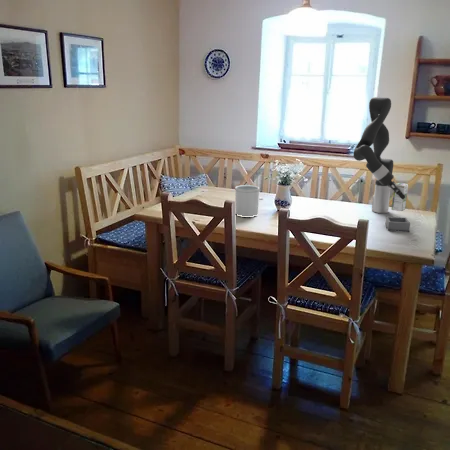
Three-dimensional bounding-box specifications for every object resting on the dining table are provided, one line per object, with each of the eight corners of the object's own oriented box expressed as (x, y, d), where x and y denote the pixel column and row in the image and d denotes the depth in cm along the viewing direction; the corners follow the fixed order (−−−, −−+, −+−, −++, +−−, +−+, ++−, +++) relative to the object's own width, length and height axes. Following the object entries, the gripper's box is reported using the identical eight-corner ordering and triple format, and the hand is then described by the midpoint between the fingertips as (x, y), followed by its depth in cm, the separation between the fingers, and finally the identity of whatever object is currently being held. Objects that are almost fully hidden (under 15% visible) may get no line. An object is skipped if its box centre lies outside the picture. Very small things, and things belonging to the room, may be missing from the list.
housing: (387, 230, 257) (388, 222, 256) (385, 225, 268) (386, 216, 266) (409, 231, 256) (410, 222, 254) (405, 226, 266) (406, 217, 264)
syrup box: (395, 208, 263) (397, 182, 259) (405, 209, 259) (408, 183, 255) (391, 209, 258) (394, 184, 254) (402, 211, 255) (404, 185, 251)
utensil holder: (252, 211, 300) (252, 184, 295) (263, 216, 286) (263, 188, 282) (231, 213, 294) (231, 186, 289) (241, 219, 281) (241, 190, 276)
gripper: (390, 172, 247) (410, 194, 248) (386, 168, 261) (406, 189, 262) (378, 181, 250) (399, 204, 251) (375, 177, 263) (395, 198, 264)
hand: (402, 196), depth 256 cm, fingers closed on syrup box, 7 cm apart
